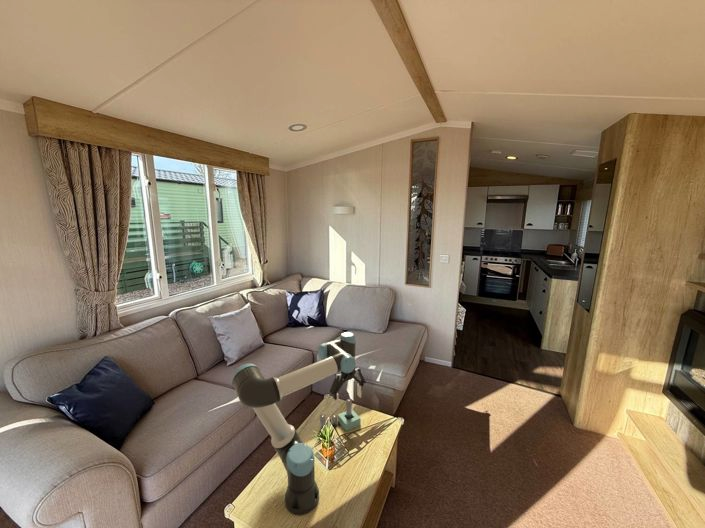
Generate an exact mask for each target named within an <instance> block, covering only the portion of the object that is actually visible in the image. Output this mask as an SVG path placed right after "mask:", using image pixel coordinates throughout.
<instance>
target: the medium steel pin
mask: <svg viewBox="0 0 705 528" xmlns="http://www.w3.org/2000/svg"><path fill="white" fill-rule="evenodd" d="M324 425H325V426H326V414H324V413H321V414H319V431H320V430H321V429H322V428H323V426H324Z"/></svg>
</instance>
